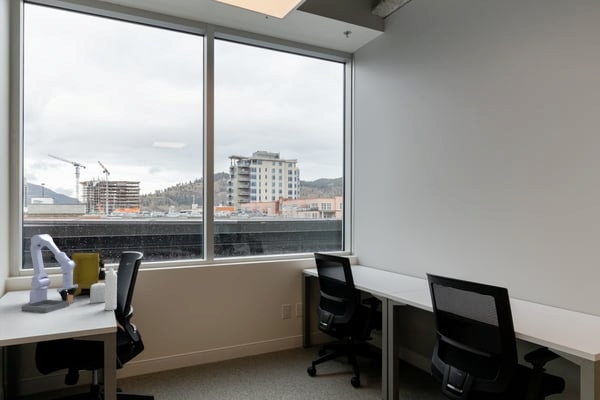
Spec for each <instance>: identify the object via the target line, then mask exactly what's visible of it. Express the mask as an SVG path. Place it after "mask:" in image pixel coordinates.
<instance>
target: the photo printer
mask: <svg viewBox="0 0 600 400" xmlns="http://www.w3.org/2000/svg"><path fill="white" fill-rule="evenodd" d="M89 294H90V296H89V297H90V298H89V303H90V304H97V303H98V304H99V303H105V282H99V283H97V284H93V285H91V289H90V293H89Z"/></svg>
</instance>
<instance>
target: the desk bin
mask: <svg viewBox="0 0 600 400" xmlns="http://www.w3.org/2000/svg"><path fill="white" fill-rule="evenodd" d="M68 307H70V304H69V301H62V300H58V299H57V300H56V299H47V300H42V301H38V302H34V303H27V304H23V305H21V312H31V313H42V314H43V313H44V314H47V313H51V312H55V311H57V310H60V309H61V310H62V309H65V308H68Z"/></svg>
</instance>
